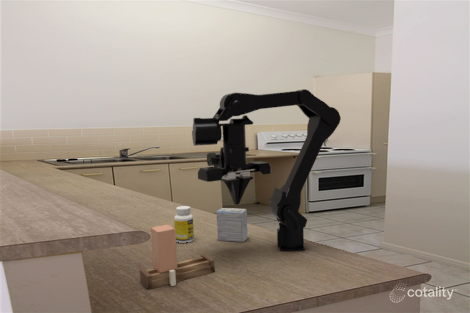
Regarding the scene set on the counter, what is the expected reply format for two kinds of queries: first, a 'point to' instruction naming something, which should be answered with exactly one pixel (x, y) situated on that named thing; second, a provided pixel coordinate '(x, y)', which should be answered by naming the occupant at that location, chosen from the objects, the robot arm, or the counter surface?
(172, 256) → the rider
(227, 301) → the counter surface
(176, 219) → the supplement bottle
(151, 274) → the wooden tray
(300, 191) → the robot arm
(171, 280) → the pair of white blocks
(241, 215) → the medicine box
